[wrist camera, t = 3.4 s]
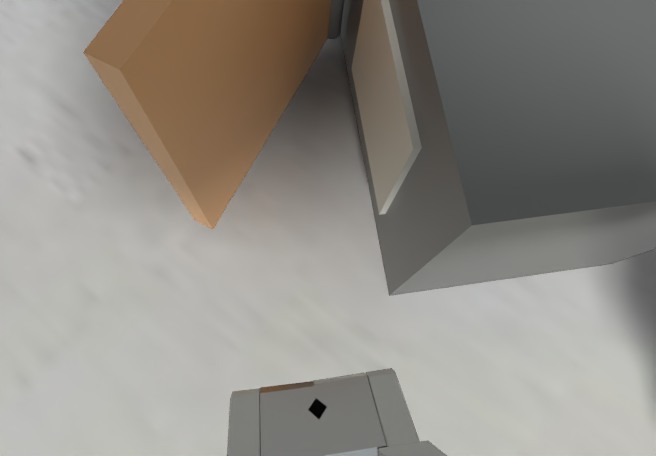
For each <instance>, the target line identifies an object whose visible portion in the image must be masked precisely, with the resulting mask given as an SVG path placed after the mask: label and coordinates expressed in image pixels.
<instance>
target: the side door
mask: <svg viewBox="0 0 656 456" xmlns="http://www.w3.org/2000/svg"><path fill="white" fill-rule="evenodd" d="M344 1H345V0H124V1H123V2H122V4H121V5H120V6H119V7H118V9H117V10H116V11H115V13H114V14H113V15H112V16H111V18H110V19H109V20H108V21H107V23H106V24H105V25H104V27H103V28H102V29H101V30H100V32H99V33H98V34H97V35H96V37H95V38H94V39H93V41H92V42H91V43H90V44H89V46H88V47H87V48H86V49H85V51H84V54H85V55H86V57H87V58H88V60H89V62H90V63H91V65H92V66H93V68H94V69H95V71H96V72H97V74H98V75H99V77H100V78H101V80H102V81H103V83H104V84H105V86H106V87H107V89H108V90H109V92H110V93H111V95H112V96H113V98H114V99H115V101H116V102H117V104H118V105H119V107H120V108H121V110H122V111H123V113H124V114H125V116H126V117H127V119H128V120H129V122H130V123H131V125H132V126H133V128H134V129H135V131H136V132H137V134H138V135H139V137H140V138H141V140H142V141H143V143H144V144H145V146H146V147H147V149H148V150H149V152H150V153H151V155H152V156H153V158H154V159H155V161H156V162H157V164H158V165H159V167H160V168H161V170H162V171H163V173H164V174H165V176H166V178H167V179H168V181H169V182H170V184H171V185H172V187H173V188H174V190H175V191H176V193H177V194H178V196H179V197H180V199H181V200H182V202H183V203H184V205H185V206H186V208H187V209H188V211H189V212H190V214H191V215H192V217H193V218H194V220H195V221H197V222H199V223H201V224H203V225H205V226H207V227H209V228H211V229H213V228H214V227H215V225H216V223H217V222H218V220H219V218H220V217H221V215H222V213H223V212H224V210H225V208H226V207H227V205H228V203H229V202H230V200H231V198H232V197H233V195H234V193H235V192H236V190H237V188H238V187H239V185H240V183H241V182H242V180H243V178H244V177H245V175H246V173H247V172H248V170H249V168H250V167H251V165H252V163H253V162H254V160H255V158H256V157H257V155H258V153H259V152H260V150H261V149H262V147H263V145H264V144H265V142H266V140H267V139H268V137H269V135H270V134H271V132H272V130H273V129H274V127H275V125H276V124H277V122H278V120H279V119H280V117H281V115H282V114H283V112H284V110H285V109H286V107H287V105H288V104H289V102H290V100H291V99H292V97H293V95H294V94H295V92H296V90H297V89H298V87H299V85H300V84H301V82H302V80H303V79H304V77H305V75H306V74H307V72H308V70H309V69H310V67H311V65H312V64H313V62H314V60H315V59H316V57H317V55H318V54H319V52H320V50H321V49H322V47H323V45H324V44H325V42H326V40H327V39H336V38H338V37H339V36H340V32H341V24H342V16H343V9H344Z"/></svg>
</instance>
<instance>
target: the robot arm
mask: <svg viewBox="0 0 656 456" xmlns="http://www.w3.org/2000/svg"><path fill="white" fill-rule="evenodd" d="M227 456H447V455H445V454H444V453H443V452H442V451H441V450H439V449H438V448H437V447H436V446H434V445H433V444H432V443H431V442H429V441H421V442H420V441H419V438H418V435H417V432H416V429H415V427H414V424H413V421H412V418H411V415H410V412H409V410H408V407H407V404H406V401H405V398H404V395H403V393H402V390H401V387H400V384H399V381H398V378H397V376H396V373H395V371H394V370H393V369H392V368H390V369H384V370H377V371H371V372H366V374H365V373H358V374H352V375H345V376H339V377H333V378H327V379H320V380H314V381H311V382H303V383H295V384H286V385H278V386H270V387H262V388H258V389H250V390H242V391H234V392H232V395H231V398H230V411H229V429H228V447H227Z"/></svg>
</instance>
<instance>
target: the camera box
mask: <svg viewBox="0 0 656 456" xmlns="http://www.w3.org/2000/svg"><path fill="white" fill-rule="evenodd" d="M340 33H341V38H342V44H343V49H344V54H345V60H346V65H347V71H348V76H349V81H350V87H351V92H352V98H353V103H354V108H355V114H356V119H357V124H358V130H359V135H360V141H361V146H362V151H363V157H364V162H365V167H366V173H367V178H368V184H369V189H370V194H371V200H372V205H373V210H374V216H375V221H376V227H377V232H378V237H379V243H380V248H381V253H382V259H383V264H384V270H385V275H386V280H387V286H388V291H389V296H390V295H397V294H404V293H411V292H418V291H425V290H432V289H439V288H446V287H453V286H460V285H467V284H474V283H481V282H488V281H495V280H502V279H509V278H516V277H523V276H529V275H536V274H543V273H550V272H557V271H564V270H571V269H578V268H585V267H592V266H599V265H606V264H613V263H615V262H618V261H621V260H624V259H627V258H630V257H633V256H635V255H638V254H641V253H644V252H647V251H650V250H652V249H655V248H656V0H345V1H344V9H343V16H342V24H341V32H340Z"/></svg>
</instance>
